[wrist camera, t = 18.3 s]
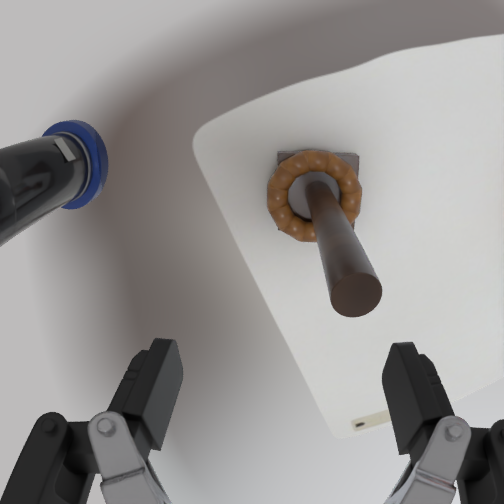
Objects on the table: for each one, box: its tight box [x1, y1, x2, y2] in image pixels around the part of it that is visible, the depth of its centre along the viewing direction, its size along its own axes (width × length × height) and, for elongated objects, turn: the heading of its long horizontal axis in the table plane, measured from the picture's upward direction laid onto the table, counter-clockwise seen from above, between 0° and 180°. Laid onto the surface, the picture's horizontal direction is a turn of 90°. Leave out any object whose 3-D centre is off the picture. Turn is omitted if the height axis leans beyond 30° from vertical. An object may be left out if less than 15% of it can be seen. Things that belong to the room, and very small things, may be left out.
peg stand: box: [278, 151, 382, 317], centre depth 23 cm, size 8×8×20 cm
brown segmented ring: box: [267, 150, 362, 242], centre depth 30 cm, size 9×9×2 cm
